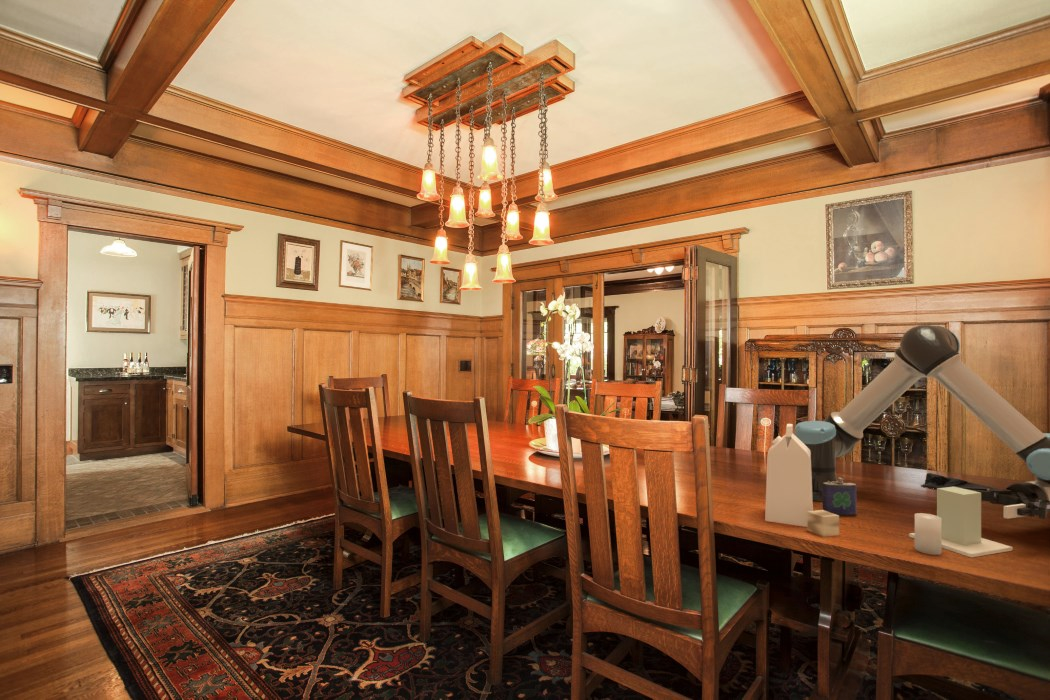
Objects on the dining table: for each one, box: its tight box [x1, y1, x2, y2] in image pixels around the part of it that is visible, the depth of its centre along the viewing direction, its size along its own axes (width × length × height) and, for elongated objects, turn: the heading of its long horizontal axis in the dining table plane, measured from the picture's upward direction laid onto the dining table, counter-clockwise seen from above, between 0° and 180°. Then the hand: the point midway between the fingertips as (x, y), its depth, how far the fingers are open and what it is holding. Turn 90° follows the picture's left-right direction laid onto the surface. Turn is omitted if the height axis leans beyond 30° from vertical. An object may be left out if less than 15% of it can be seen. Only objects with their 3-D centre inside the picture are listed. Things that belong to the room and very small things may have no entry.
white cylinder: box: [914, 512, 943, 556], centre depth 123 cm, size 5×5×8 cm
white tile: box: [908, 532, 1013, 559], centre depth 127 cm, size 14×14×1 cm
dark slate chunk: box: [920, 472, 1001, 500], centre depth 175 cm, size 15×22×5 cm
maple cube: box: [807, 509, 840, 538], centre depth 135 cm, size 5×5×5 cm
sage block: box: [936, 487, 982, 546], centre depth 127 cm, size 6×6×12 cm
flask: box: [822, 476, 858, 517], centre depth 149 cm, size 9×3×11 cm, turn 88°
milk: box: [764, 423, 814, 528], centre depth 147 cm, size 12×12×26 cm
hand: (972, 504), depth 128 cm, fingers open, 13 cm apart
